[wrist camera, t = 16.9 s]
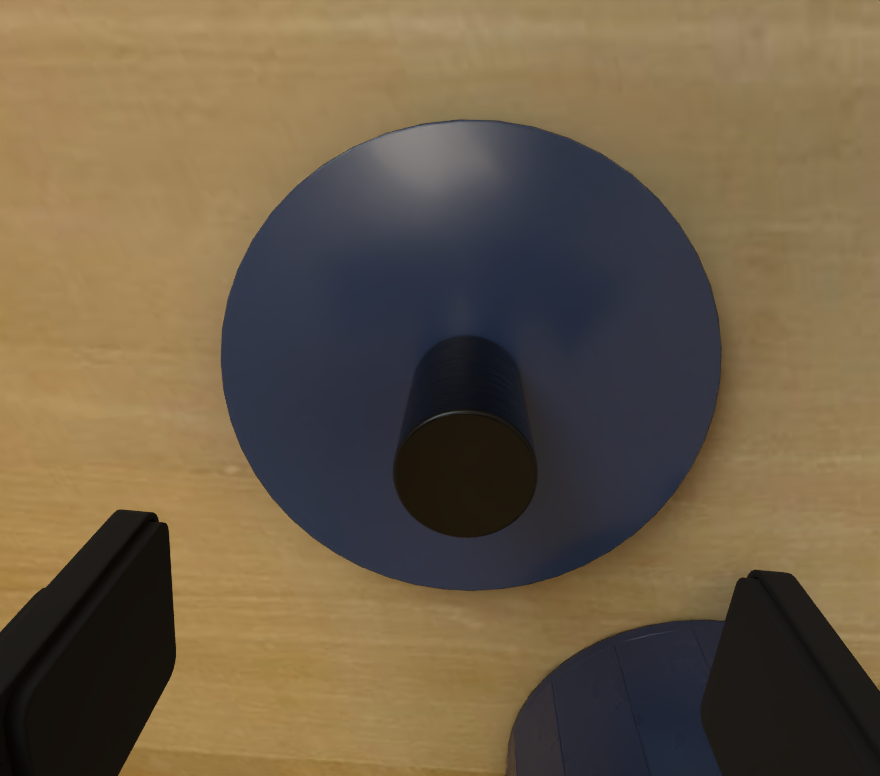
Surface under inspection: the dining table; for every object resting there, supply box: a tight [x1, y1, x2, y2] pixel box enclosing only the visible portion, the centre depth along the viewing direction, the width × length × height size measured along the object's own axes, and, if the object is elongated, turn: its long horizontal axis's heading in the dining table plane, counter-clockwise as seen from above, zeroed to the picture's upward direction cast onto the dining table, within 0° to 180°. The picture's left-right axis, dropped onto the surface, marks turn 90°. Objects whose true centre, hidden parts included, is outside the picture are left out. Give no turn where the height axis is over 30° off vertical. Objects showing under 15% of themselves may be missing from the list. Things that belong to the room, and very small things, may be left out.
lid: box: [221, 120, 722, 591], centre depth 18 cm, size 15×15×7 cm
